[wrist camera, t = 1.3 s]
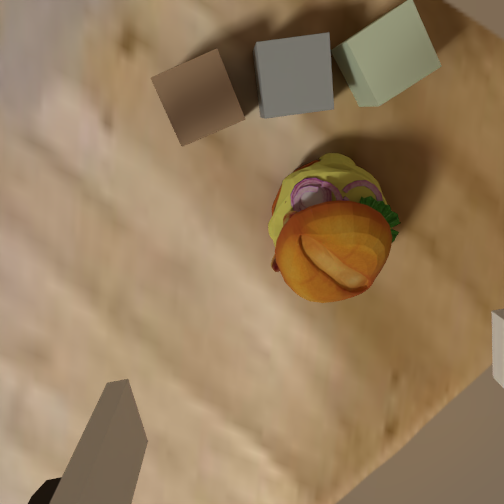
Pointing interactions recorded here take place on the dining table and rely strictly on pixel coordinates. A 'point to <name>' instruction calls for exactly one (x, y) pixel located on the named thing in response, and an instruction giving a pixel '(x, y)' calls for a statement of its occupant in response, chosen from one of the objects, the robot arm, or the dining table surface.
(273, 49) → the slate block
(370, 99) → the sage block
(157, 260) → the dining table surface
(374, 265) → the cheeseburger
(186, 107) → the walnut block
